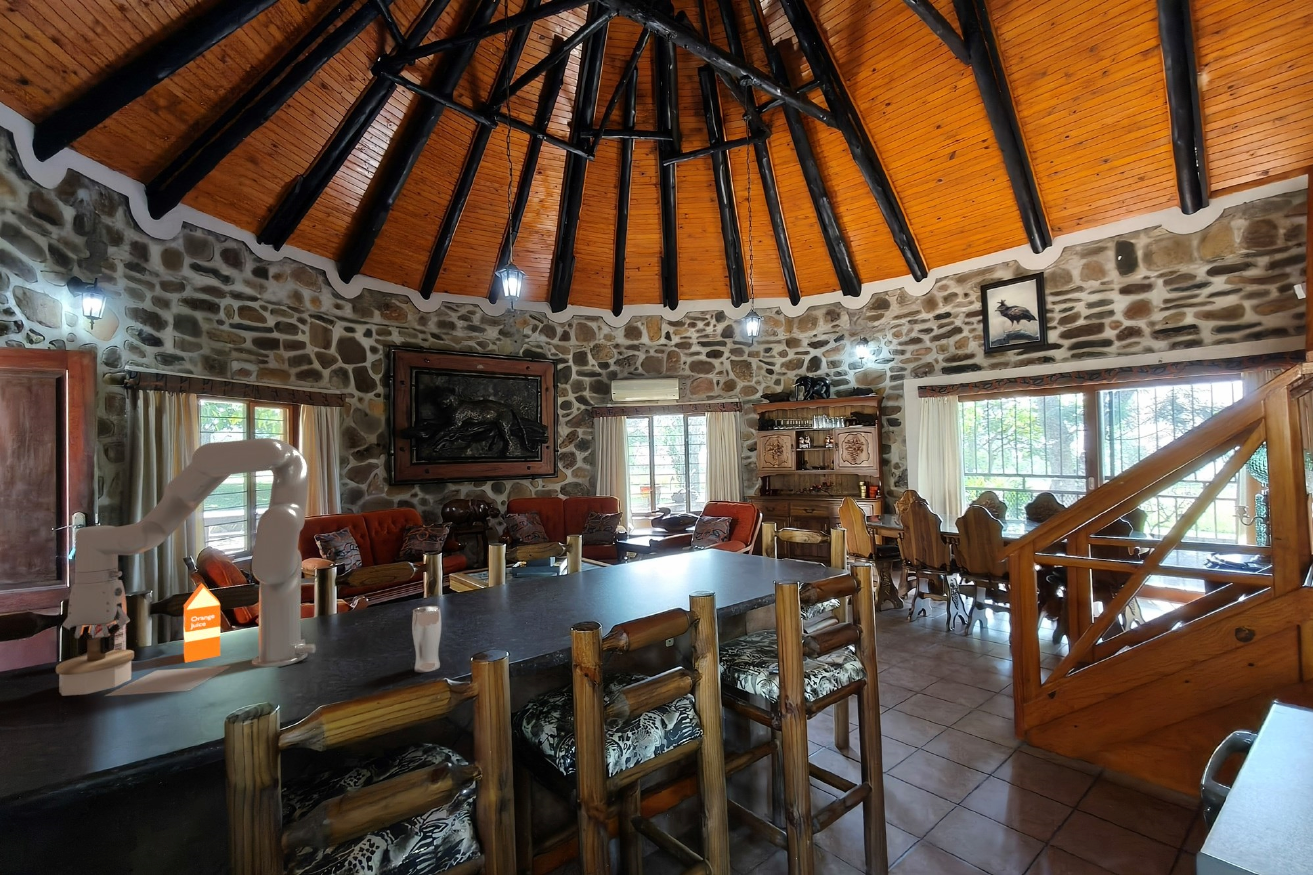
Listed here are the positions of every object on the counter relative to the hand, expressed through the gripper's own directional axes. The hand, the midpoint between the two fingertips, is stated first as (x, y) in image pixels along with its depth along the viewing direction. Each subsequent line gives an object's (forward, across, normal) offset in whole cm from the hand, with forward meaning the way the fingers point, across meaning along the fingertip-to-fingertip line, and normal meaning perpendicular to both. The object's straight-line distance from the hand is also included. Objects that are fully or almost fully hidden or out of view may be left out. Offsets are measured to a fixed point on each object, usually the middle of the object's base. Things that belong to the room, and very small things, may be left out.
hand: (96, 651), depth 140 cm
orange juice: (+9, -12, -19) cm, 24 cm away
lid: (+3, 0, 0) cm, 3 cm away
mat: (+9, -17, 0) cm, 19 cm away
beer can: (+9, +12, -20) cm, 25 cm away
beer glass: (+9, -78, +1) cm, 78 cm away
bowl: (+9, 0, 0) cm, 9 cm away
